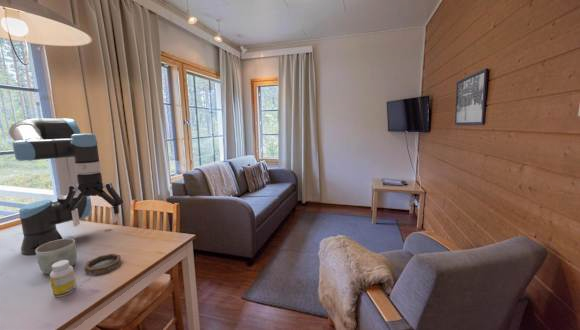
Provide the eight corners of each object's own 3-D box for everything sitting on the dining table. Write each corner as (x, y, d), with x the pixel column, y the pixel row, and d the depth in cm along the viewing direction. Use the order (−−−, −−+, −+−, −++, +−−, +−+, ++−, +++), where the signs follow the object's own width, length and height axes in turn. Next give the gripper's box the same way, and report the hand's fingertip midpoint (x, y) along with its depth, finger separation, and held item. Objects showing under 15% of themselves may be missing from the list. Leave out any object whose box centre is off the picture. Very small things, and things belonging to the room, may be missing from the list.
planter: (45, 280, 98) (40, 255, 96) (35, 271, 105) (31, 247, 103) (83, 265, 108) (79, 242, 107) (72, 257, 115) (69, 235, 113)
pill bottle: (63, 286, 95) (58, 258, 93) (81, 285, 95) (76, 258, 93) (48, 298, 88) (42, 268, 86) (67, 297, 89) (62, 267, 87)
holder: (78, 271, 104) (77, 266, 103) (108, 257, 115) (107, 251, 115) (98, 277, 100) (97, 272, 99) (127, 261, 111) (126, 256, 111)
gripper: (44, 176, 91) (53, 230, 94) (120, 172, 97) (127, 223, 100) (57, 172, 98) (66, 223, 101) (128, 169, 104) (133, 216, 107)
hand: (96, 223), depth 101 cm, fingers open, 13 cm apart
